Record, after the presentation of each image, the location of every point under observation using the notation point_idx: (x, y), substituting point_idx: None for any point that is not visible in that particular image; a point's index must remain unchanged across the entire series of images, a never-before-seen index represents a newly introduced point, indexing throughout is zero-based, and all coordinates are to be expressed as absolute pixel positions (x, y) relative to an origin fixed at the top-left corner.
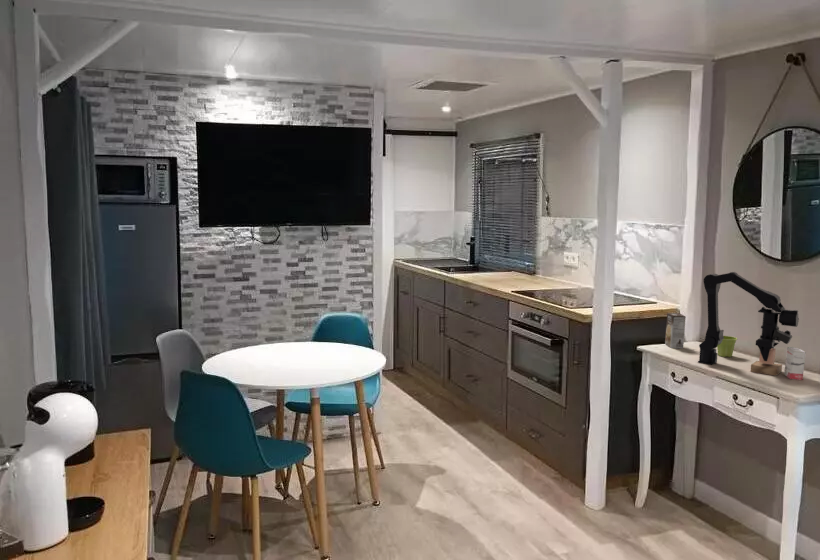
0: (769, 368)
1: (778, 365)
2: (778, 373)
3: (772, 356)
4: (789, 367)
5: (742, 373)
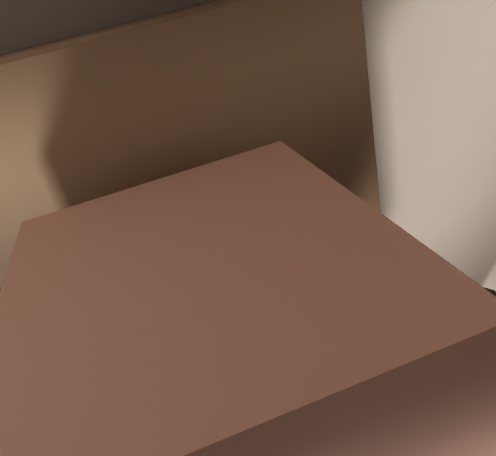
0: (363, 108)
1: (22, 109)
2: (156, 16)
3: (365, 209)
4: None
5: (483, 278)
